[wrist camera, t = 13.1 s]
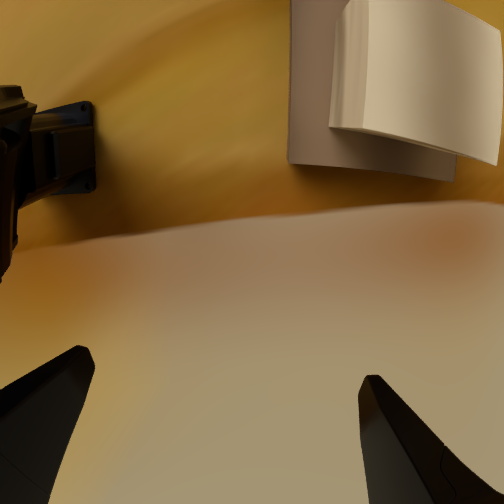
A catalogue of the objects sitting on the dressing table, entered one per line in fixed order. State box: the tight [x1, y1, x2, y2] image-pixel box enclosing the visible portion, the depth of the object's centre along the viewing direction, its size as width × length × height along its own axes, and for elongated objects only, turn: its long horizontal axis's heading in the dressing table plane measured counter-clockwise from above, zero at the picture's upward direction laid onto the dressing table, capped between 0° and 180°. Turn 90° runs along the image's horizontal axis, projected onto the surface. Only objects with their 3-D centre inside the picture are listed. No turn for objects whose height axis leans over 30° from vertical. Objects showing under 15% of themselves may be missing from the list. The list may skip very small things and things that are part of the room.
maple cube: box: [329, 0, 503, 166], centre depth 10 cm, size 6×6×6 cm
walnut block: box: [287, 0, 457, 183], centre depth 14 cm, size 10×10×3 cm
